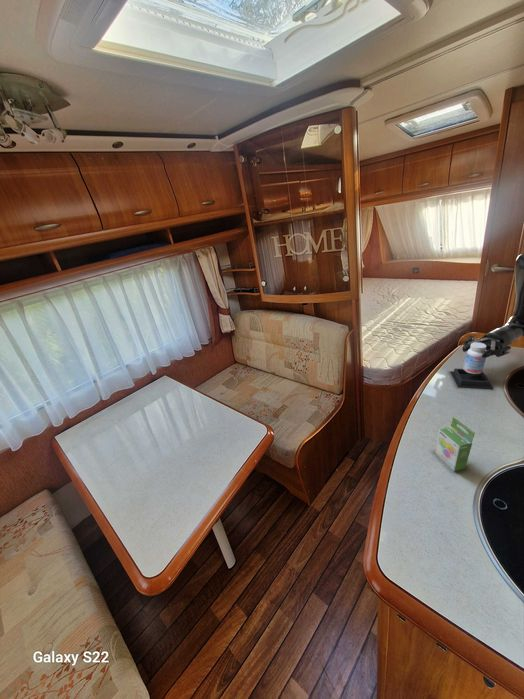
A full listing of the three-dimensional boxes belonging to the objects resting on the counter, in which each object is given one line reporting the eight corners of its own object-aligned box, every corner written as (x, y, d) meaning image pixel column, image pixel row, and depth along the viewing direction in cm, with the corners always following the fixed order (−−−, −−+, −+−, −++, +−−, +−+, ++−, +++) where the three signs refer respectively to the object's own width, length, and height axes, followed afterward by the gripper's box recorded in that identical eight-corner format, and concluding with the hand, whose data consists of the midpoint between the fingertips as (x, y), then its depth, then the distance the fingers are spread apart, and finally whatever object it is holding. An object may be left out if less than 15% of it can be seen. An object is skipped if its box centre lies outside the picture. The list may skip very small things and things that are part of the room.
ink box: (434, 453, 81) (440, 419, 75) (446, 450, 81) (453, 416, 75) (453, 472, 75) (462, 437, 69) (465, 469, 75) (475, 433, 69)
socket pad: (481, 374, 111) (483, 368, 110) (492, 390, 102) (494, 383, 100) (450, 373, 115) (451, 367, 113) (457, 388, 105) (459, 382, 104)
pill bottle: (467, 375, 104) (473, 349, 99) (460, 366, 109) (465, 341, 104) (485, 374, 103) (492, 348, 98) (477, 365, 108) (483, 340, 103)
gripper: (480, 324, 111) (455, 337, 105) (524, 335, 99) (498, 350, 94) (477, 341, 115) (451, 354, 109) (519, 353, 103) (493, 368, 97)
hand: (473, 352), depth 101 cm, fingers closed on pill bottle, 6 cm apart
